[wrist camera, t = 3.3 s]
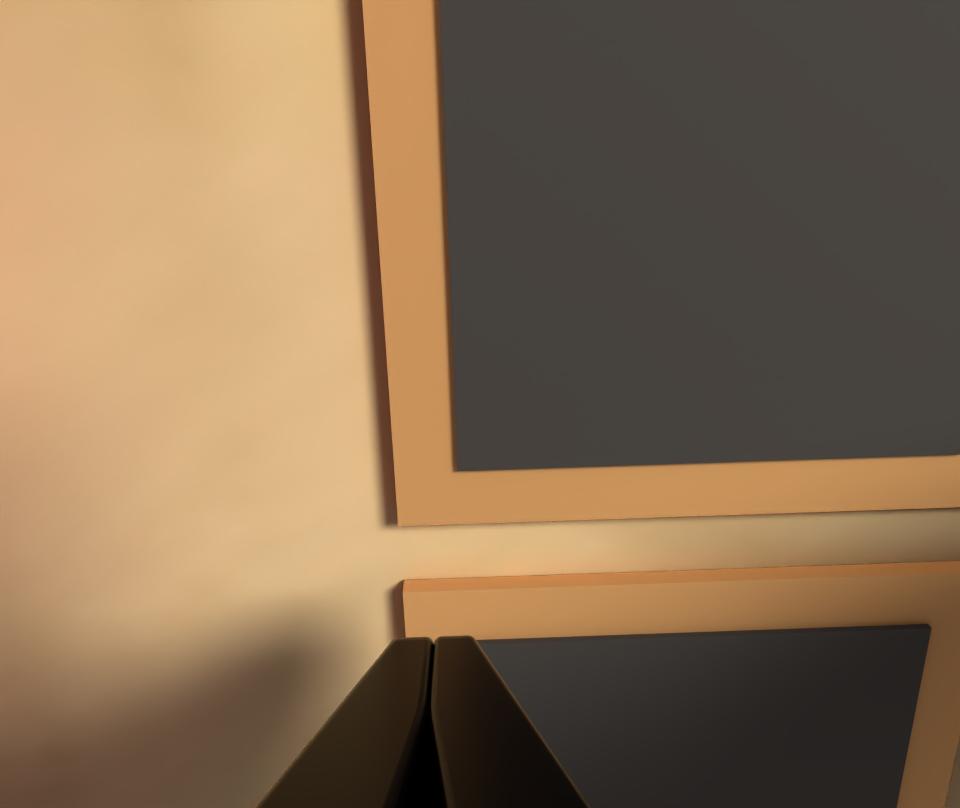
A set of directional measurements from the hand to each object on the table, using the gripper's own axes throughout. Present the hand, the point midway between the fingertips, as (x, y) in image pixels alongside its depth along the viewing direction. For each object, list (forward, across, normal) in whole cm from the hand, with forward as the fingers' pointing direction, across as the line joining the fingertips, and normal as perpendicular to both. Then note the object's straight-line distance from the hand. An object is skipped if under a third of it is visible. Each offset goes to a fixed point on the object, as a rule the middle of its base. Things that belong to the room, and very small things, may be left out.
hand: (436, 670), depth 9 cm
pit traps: (+3, -4, 0) cm, 4 cm away
